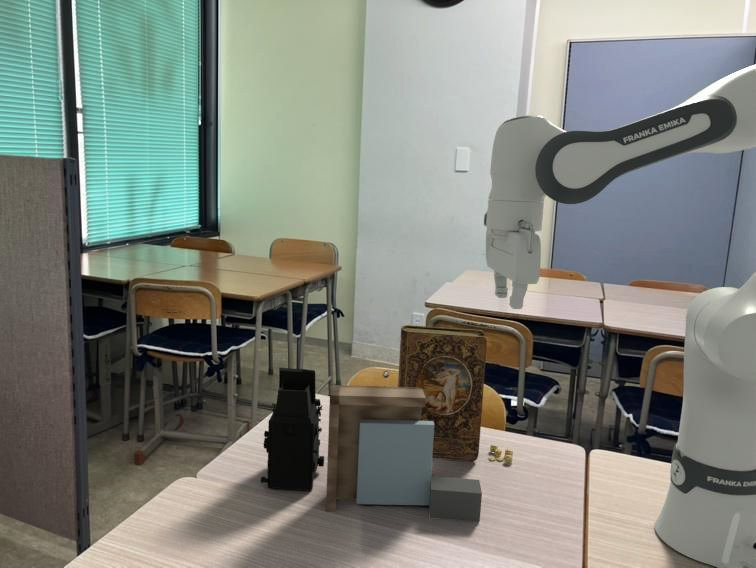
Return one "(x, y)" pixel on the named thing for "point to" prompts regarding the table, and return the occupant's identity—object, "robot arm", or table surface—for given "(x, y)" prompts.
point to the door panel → (394, 462)
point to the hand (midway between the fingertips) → (507, 302)
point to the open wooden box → (345, 425)
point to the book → (447, 384)
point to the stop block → (455, 499)
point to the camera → (294, 432)
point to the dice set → (498, 453)
